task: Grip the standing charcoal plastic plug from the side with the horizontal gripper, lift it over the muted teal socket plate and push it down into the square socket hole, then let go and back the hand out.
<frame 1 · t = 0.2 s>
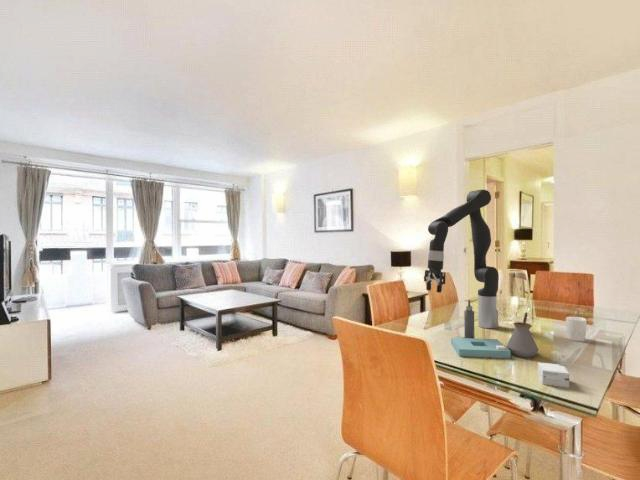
hand: (433, 291, 173), 22 cm above the table, tool pointing down, fingers open, 8 cm apart
coffee pot: (523, 351, 146), on the table
white cup: (576, 339, 160), on the table
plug: (469, 340, 162), on the table
small box: (553, 382, 116), on the table
socket plate: (478, 350, 147), on the table
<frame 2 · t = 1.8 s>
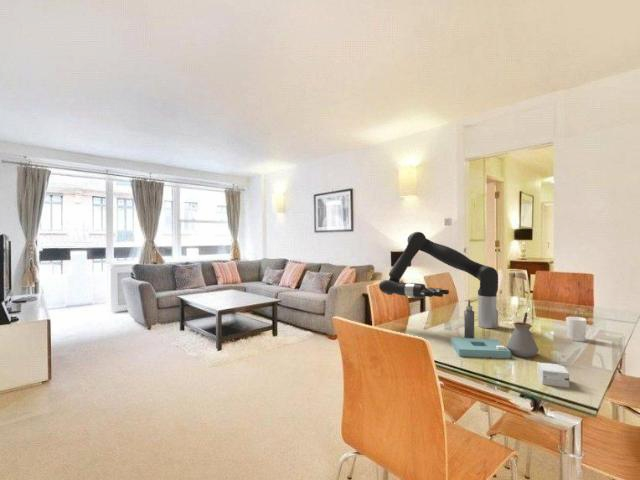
hand: (445, 293, 169), 22 cm above the table, tool horizontal, fingers open, 8 cm apart
nothing on the table moved.
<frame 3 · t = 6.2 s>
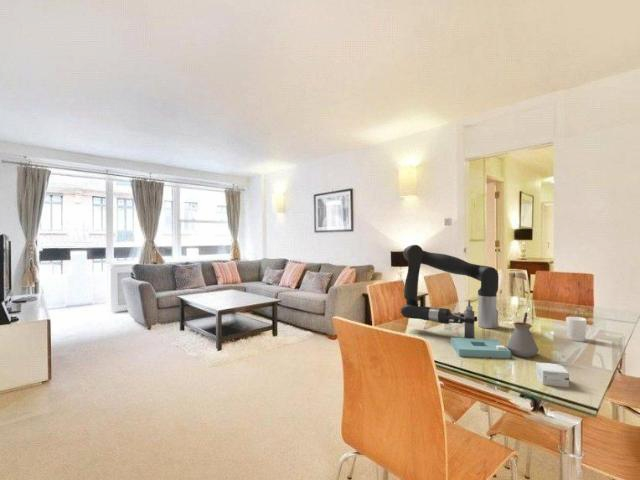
hand: (475, 320, 160), 10 cm above the table, tool horizontal, fingers closed on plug, 4 cm apart
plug: (469, 340, 162), on the table, touching gripper
everything else where it was.
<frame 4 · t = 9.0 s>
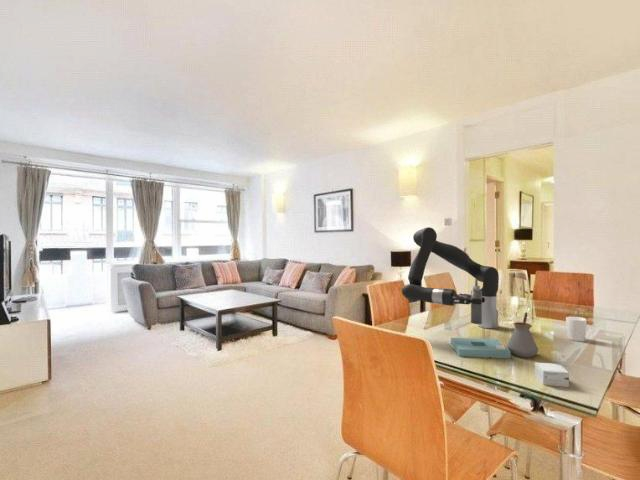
hand: (483, 301, 146), 22 cm above the table, tool horizontal, fingers closed on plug, 4 cm apart
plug: (476, 322, 148), point 12 cm above the table, touching gripper
everything else where it was.
when the fingers open (10 cm above the table, at t = 12.1 s): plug stays where it is, resting in socket plate.
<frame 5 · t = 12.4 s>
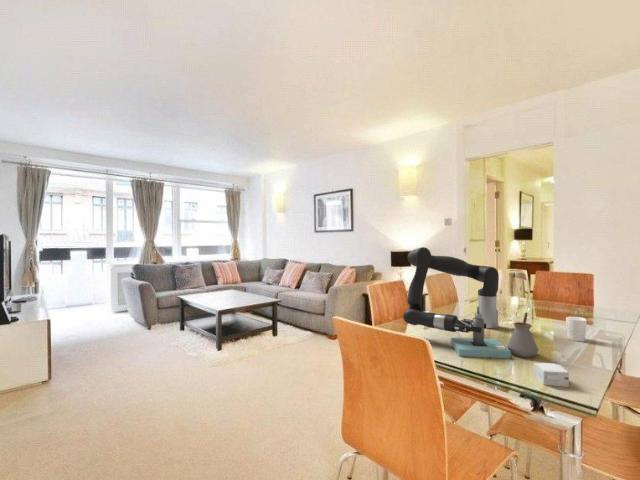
hand: (483, 328, 146), 10 cm above the table, tool horizontal, fingers open, 7 cm apart
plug: (478, 350, 147), resting in socket plate
everything else where it was.
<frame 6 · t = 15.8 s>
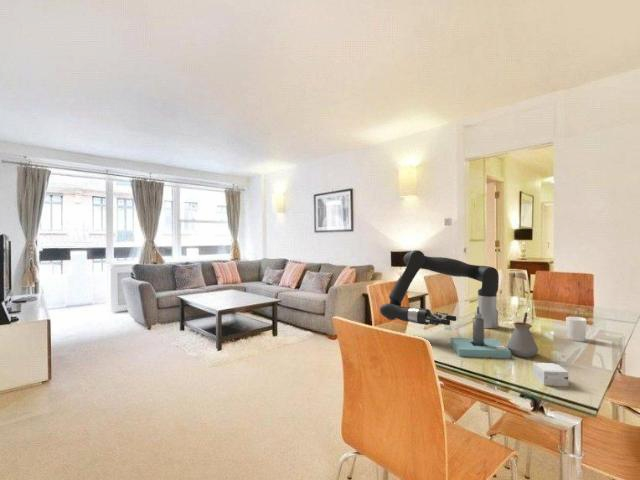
hand: (453, 320, 154), 12 cm above the table, tool horizontal, fingers open, 8 cm apart
nothing on the table moved.
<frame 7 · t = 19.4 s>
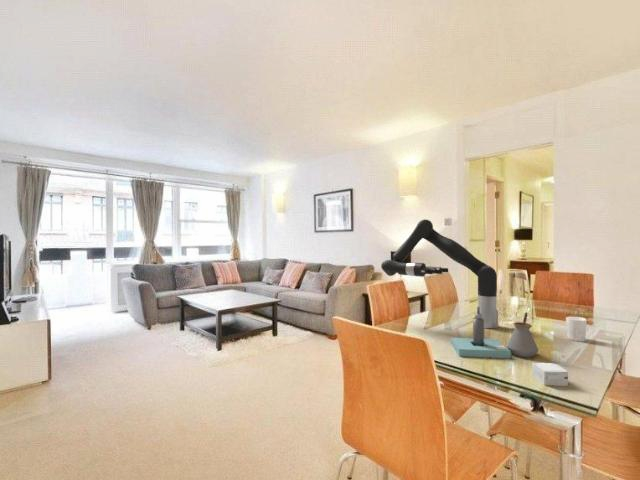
hand: (445, 271, 176), 32 cm above the table, tool horizontal, fingers open, 8 cm apart
at the end: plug 0.1 cm off-centre on the socket plate, point 0.0 cm above the socket plate's base; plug tilted 0°; the gripper is holding nothing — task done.
